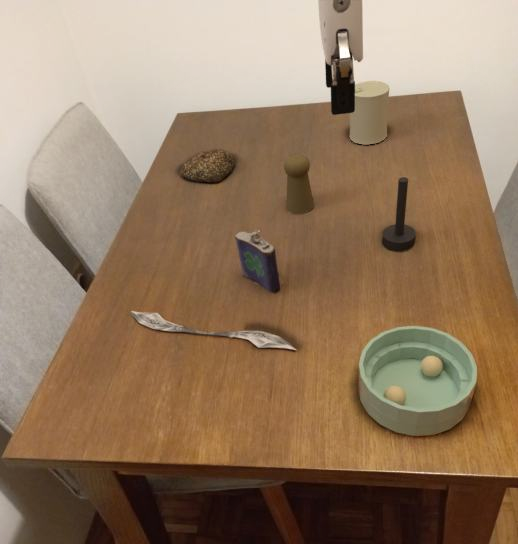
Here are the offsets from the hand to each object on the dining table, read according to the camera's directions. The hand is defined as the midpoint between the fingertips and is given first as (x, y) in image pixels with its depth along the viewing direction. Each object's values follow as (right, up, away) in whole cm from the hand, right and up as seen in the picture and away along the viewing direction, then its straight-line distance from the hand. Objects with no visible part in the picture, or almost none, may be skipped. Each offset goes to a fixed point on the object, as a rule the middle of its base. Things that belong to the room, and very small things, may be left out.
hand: (339, 98), depth 76 cm
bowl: (+10, -43, -2) cm, 44 cm away
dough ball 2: (+13, -39, -1) cm, 41 cm away
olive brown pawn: (-3, -6, +36) cm, 37 cm away
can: (+15, +15, +53) cm, 58 cm away
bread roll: (-24, +7, +52) cm, 57 cm away
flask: (-11, -24, +20) cm, 34 cm away
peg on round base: (+15, -16, +23) cm, 32 cm away
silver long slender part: (-20, -34, +13) cm, 41 cm away
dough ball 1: (+7, -43, -4) cm, 44 cm away
